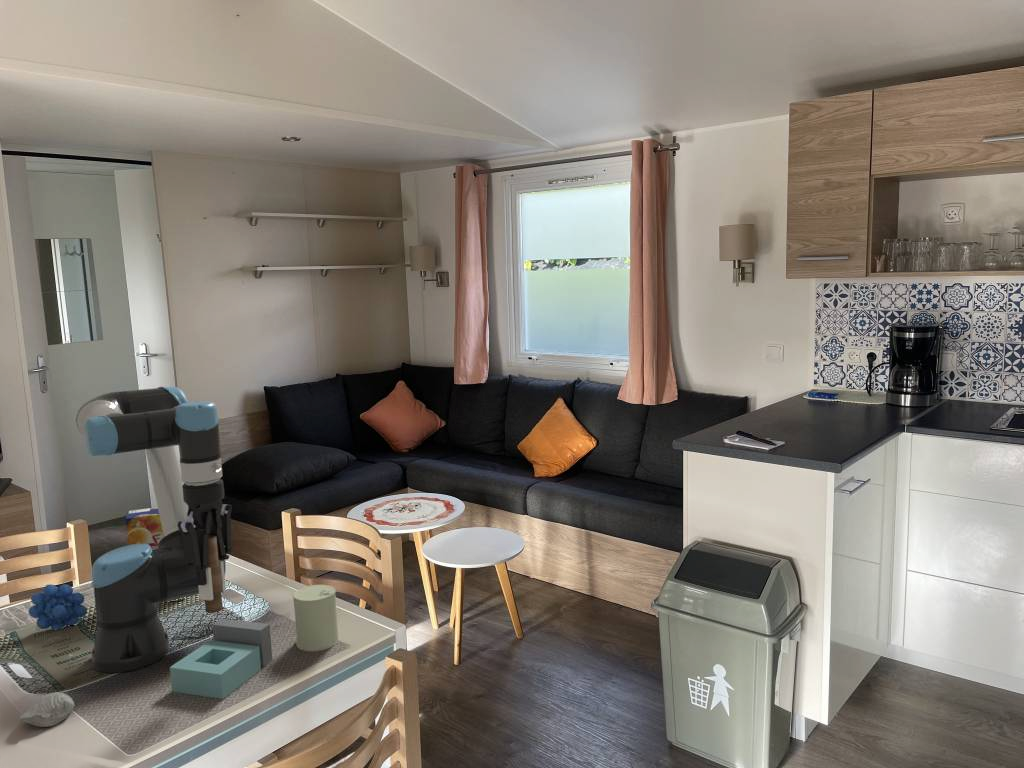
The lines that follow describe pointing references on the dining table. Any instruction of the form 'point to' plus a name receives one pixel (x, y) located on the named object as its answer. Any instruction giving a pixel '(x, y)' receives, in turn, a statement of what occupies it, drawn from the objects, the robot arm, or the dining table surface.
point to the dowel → (214, 576)
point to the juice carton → (144, 527)
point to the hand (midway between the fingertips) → (212, 595)
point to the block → (215, 669)
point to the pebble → (49, 710)
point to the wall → (245, 636)
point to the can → (316, 617)
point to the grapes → (57, 607)
